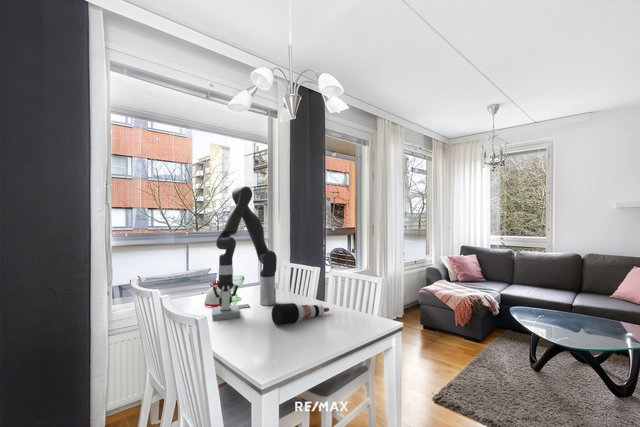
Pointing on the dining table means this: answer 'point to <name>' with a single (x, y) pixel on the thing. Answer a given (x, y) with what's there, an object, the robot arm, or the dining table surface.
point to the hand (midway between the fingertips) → (225, 304)
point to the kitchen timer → (212, 296)
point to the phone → (243, 306)
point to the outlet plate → (225, 313)
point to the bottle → (295, 313)
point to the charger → (225, 300)
